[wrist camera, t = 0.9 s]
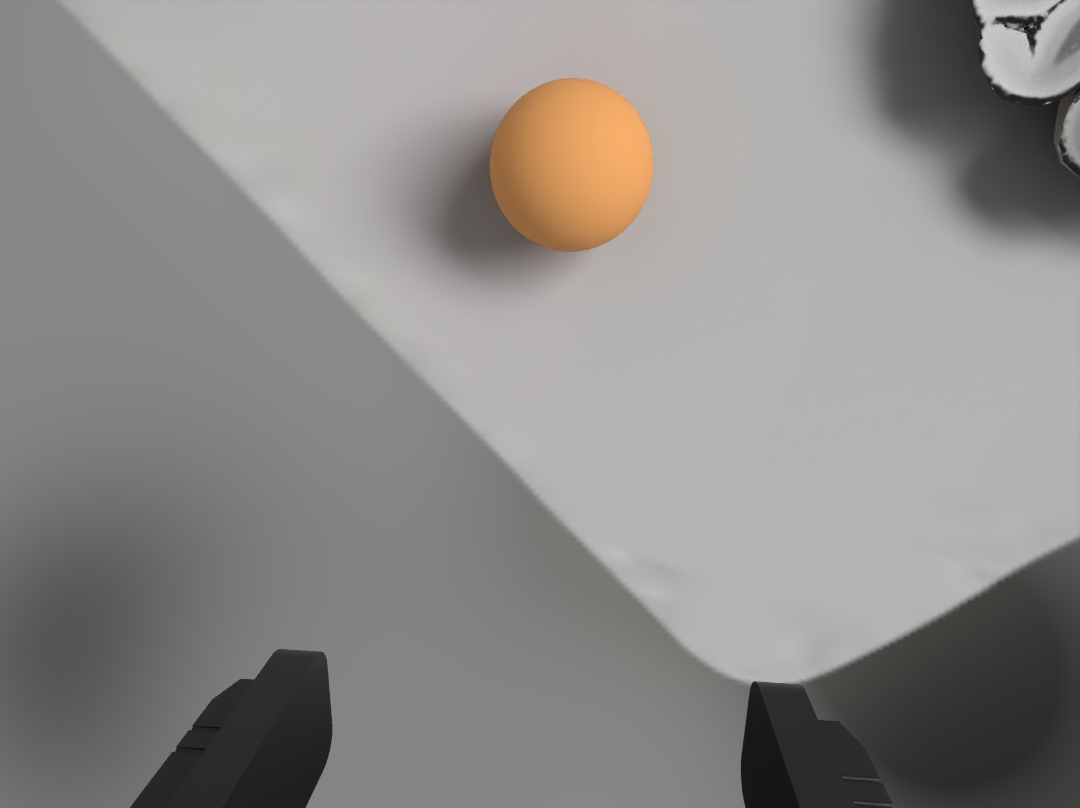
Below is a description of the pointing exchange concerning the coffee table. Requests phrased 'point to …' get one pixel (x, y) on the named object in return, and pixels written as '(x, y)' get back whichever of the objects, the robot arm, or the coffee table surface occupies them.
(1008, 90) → the brain slice
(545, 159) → the ball
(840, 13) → the coffee table surface
